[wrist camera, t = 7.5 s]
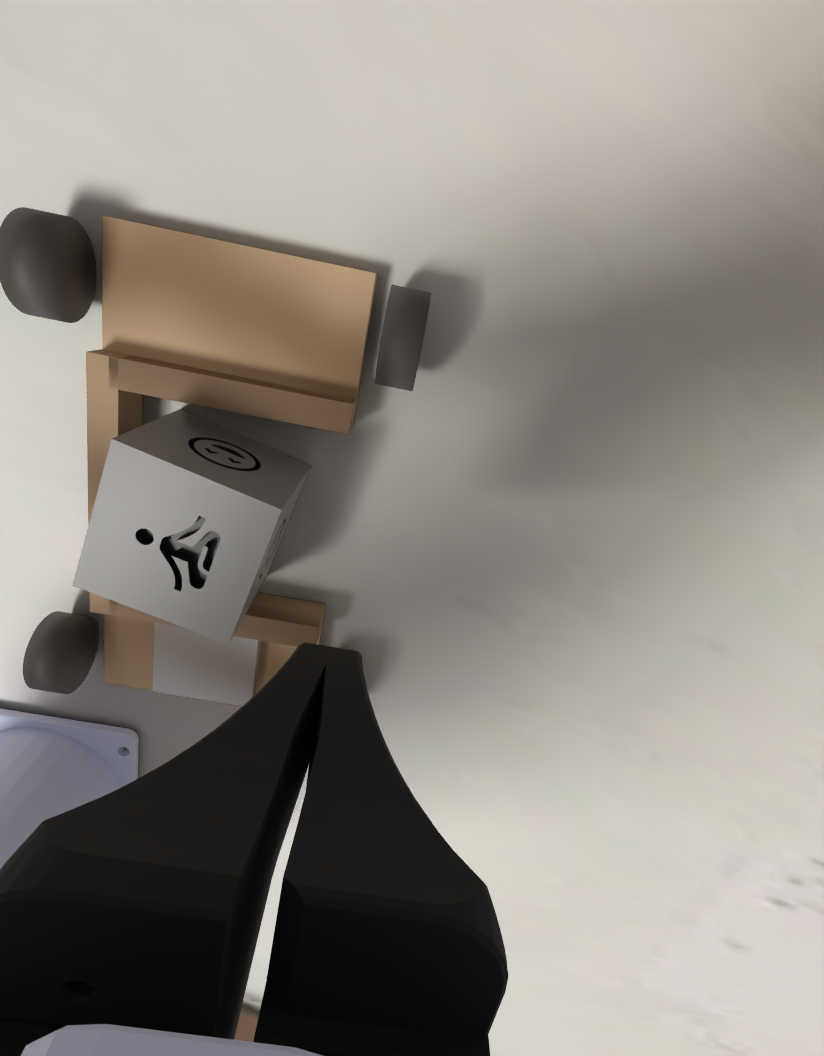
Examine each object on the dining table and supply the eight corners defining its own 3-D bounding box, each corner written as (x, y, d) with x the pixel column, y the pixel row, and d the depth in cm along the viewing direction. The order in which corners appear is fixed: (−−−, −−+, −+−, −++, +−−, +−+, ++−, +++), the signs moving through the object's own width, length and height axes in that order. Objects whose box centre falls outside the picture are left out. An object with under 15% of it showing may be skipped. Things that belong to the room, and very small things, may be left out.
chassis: (350, 709, 25) (342, 760, 22) (70, 664, 24) (25, 710, 22) (431, 286, 19) (433, 282, 16) (57, 206, 18) (-9, 188, 15)
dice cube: (267, 575, 23) (228, 644, 18) (145, 526, 22) (72, 585, 17) (311, 465, 21) (281, 509, 16) (181, 408, 20) (111, 438, 16)
